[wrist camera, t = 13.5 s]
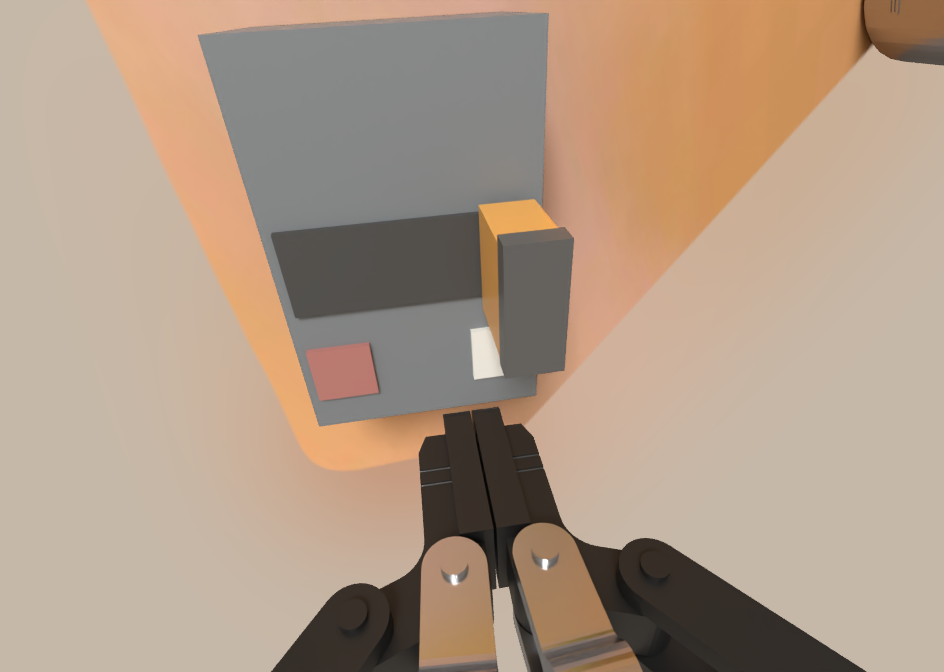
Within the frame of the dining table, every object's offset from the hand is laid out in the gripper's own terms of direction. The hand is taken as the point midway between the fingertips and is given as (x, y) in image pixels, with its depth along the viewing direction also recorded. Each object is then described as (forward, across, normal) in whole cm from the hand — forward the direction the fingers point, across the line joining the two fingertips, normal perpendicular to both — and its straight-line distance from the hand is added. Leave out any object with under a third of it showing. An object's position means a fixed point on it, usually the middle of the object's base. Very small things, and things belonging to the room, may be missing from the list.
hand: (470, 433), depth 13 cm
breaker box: (+19, +1, 0) cm, 19 cm away
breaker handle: (+10, -3, 0) cm, 11 cm away
